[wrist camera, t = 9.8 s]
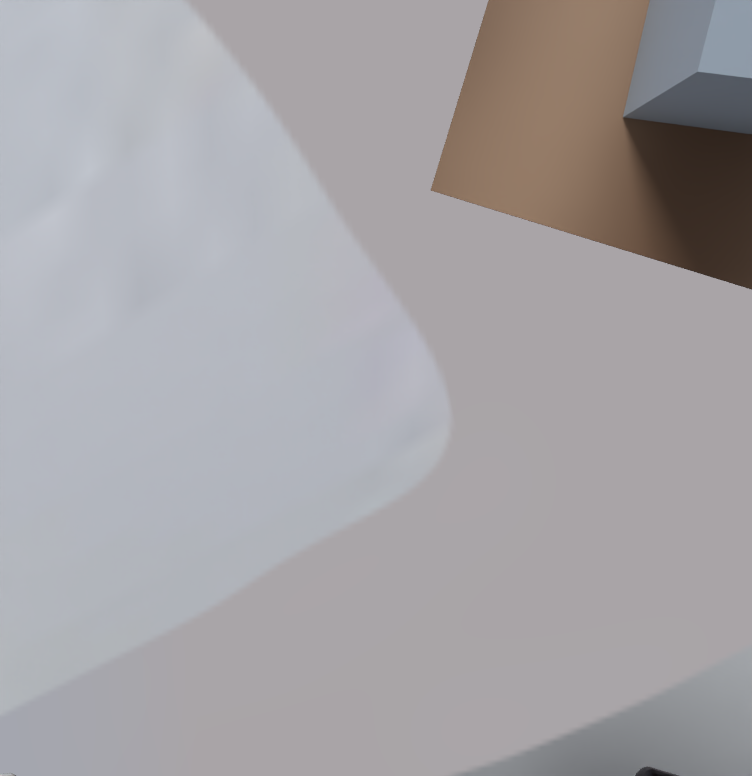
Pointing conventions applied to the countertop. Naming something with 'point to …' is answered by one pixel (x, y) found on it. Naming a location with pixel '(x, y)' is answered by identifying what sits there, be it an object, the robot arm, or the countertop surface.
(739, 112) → the slate cube
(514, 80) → the walnut block
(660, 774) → the robot arm
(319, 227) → the countertop surface
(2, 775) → the supplement box
